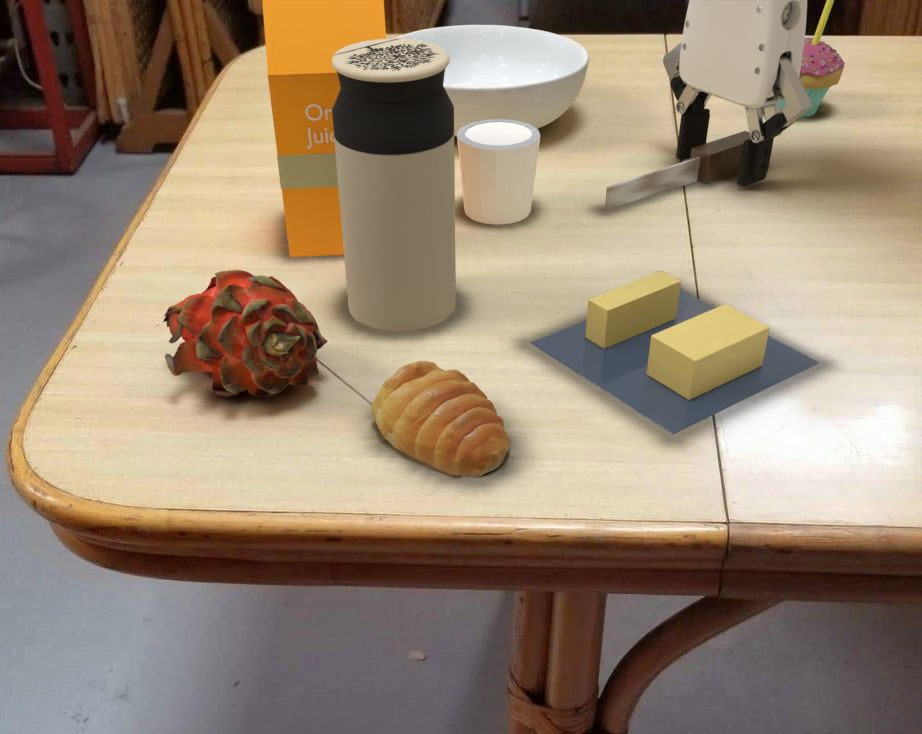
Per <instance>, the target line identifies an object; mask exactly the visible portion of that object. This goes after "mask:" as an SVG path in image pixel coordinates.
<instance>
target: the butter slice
mask: <svg viewBox="0 0 922 734" xmlns="http://www.w3.org/2000/svg"><path fill="white" fill-rule="evenodd" d="M681 285H682V280H680V279H678V278H677V277H675V276H672V275H671V274H669V273H667V272H664V271H662V270H659V271H657V272H654V273H652V274H648V275H647V276H643V277H641V278H639V279H636V280H633V281H631V282H629V283H626V284H624V285H621V286H619V287H615V288H613V289H611V290H609V291H605V292H603V293H601V294H598V295H596V296H593V297H590V298H588V299H587V311H586V320H587V322H586V335H585V337H586V338H587V339H589V340H590V341H592V342H594V343H595V344H597V345H598V346H600V347H602V348H603V349H605V348H608V347H610V346H613V345H615V344H617V343H620V342H622V341H624V340H627V339H629V338H631V337H634V336H636V335H638V334H641V333H643V332H646V331H648V330H650V329H653V328H655V327H657V326H660V325H662V324H664V323H667V322H669V321H672V320H674V319H676V314H677V307H678V300H679V293H680V289H681Z"/></svg>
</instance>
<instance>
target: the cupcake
mask: <svg viewBox="0 0 922 734" xmlns="http://www.w3.org/2000/svg"><path fill="white" fill-rule="evenodd" d="M834 2H835V0H826V1H825V4H824V7H823V10H822V13H821V16H820V18H819V21H818V24H817V26H816V30H815V32H814V36H812V37H811V36H808V37H805V39H804V48H803V55H802V63H801V69H800V75H799V79H800V81H801V83H802V85H803V87H804V89H805V91H806V93H807V94H808V96H809V98H810V100H811V107H810V108H809V109H808V110H807V111H806V112H805V113H804V114H803V115H801V116H800V117H799V118H798V119H800V118H809V117H812V116H814V115H815V114H816V113H817V111H818V109H819V107H820V105H821V103H822V101H823V100H824V97H825V96H826V94H827V93H828V91H829V89H830V88H831V87H833V86H836V85H838V84H839V82H840V81H841V78H842V75H843V72H844V68H845V64H846V62H845V61H844V59H842V56H840V53H838V50H837V49H835V48H833V47H832V46H831V45H830V44H827V43H826V41H825V40H821V39H822V36H823V33H824V31H825V27H826V25H827V21H828V18H829V16H830V13H831V10H832V8H833V5H834ZM778 104H779V110H780V111H781V109H782V108H783V107H784V106H785V99H778Z"/></svg>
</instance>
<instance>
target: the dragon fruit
mask: <svg viewBox="0 0 922 734" xmlns="http://www.w3.org/2000/svg"><path fill="white" fill-rule="evenodd" d="M214 275H215V276H213V277H211V279H210V282H209V284H208V285H207V287H206V289H205V290H204V291H203V292H201V293H195V294H191V295H188V296H187V297H185V298H184V299H183V300H181V301H179V302H177V303H175V304H172V305H171V306H169V307H168V308H167V310H166V312H165V314H164V315H163V316H162V317H161V319H162V318H163V317H164V319H163V321H162V323H165V324H166V328H168V330H169V333H170V335H171V338H169V340H168V343H170V344H174V343H176V342H177V341H179V340H180V338H182V340H183V342H181V343H179V345H178V347H177V348H176V351H175V352H174V355H173V356H172V355H171V354H170V353H166V354H164V359H165V362H166V366H167V368H168V369H169V371H170V372H171V374H172V375H173V376H176V377H178V376H180V375H182V374H183V373H195V374H198V373H208V372H210V373H212V375H211V381H212V382H211V391H212V393H214V394H215V395H216V396H220V397H225V398H226V397H227V398H229V397H232V396H238V395H239V394H240V393H241V392H244V391H247V392H248V393H249V394H250V395H251V396H252V397H256V398H263V397H266V398H268V397H272V396H275V395H276V394H278V393H281V392H283V390H284V389H285V388H286V387H287V386H288V385H293V386H307V385H308V383H310V382H311V381H313V380H314V379H315V378H316V377H317V376H319V375H320V371H319V367H318V361H317V353H318V351H319V350H320V349H321V348H323V347H324V345H326V344H327V343H328V340H327V339H326V338H325V337H324V336H323V335H322V334H321V332H320V331H321V330H320V328H319V326H318V323H317V321H316V318H315V316H314V315H313V314H312V312H311V311H310V310H308V308H307V307H306V306H305V305H304V304H303V303H302V302H300V301H299V300H298V299H297V297H296V296H295V294H294V293H293V292H292V291H291V290H290V289H289V288H287V286H286V285H284V284H283V283H282V282H281V281H280V280H278V279H277V278H276V277H274V276H272V275H270V276H266V275H263V274H261V275H254V274H253V273H251V272H249V271H247V270H241V269H230V270H229V269H228V270H222V271H218V272H215V273H214ZM158 326H159V324H156V327H158Z"/></svg>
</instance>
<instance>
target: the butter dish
mask: <svg viewBox="0 0 922 734" xmlns="http://www.w3.org/2000/svg"><path fill="white" fill-rule="evenodd" d="M715 308H716V307H715V306H713V305H711V304H709V303H707V302H705V301H703V300H702V299H700V298H698V297H697V296H694V295H692V294H691V293H689V292H687V291H685V290H682V289H681V288H680V293H679V300H678V307H677V314H676V319H674V320H672V321H669V322H667V323H664V324H662V325H660V326H657V327H655V328H653V329H650V330H648V331H646V332H643V333H641V334H638V335H636V336H634V337H631V338H629V339H627V340H624V341H622V342H620V343H617V344H615V345H613V346H610V347H608V348H605V349H603V348H602V347H600V346H598V345H597V344H595V343H594V342H592V341H590V340H589V339H587V338H586V337H585V335H586V322H587V319H585V320H582V321H580V322H576V323H574V324H572V325H569V326H567V327H565V328H562V329H559V330H557V331H554V332H552V333H549V334H547V335H545V336H542V337H539V338H537V339H534V340H532V341H530V342H529V344H531V345H532V346H534V347H536V348H537V349H539V350H540V351H542V352H544V353H545V354H546V355H548V356H550V357H551V358H553V359H554V360H556V361H557V362H559V363H560V364H562V365H564V366H565V367H567V368H568V369H569V370H571V371H572V372H575V373H576V374H577V375H579V376H581V377H582V378H584V379H585V380H587V381H588V382H590V383H591V384H593V385H594V386H596V387H597V388H599V389H601V390H602V391H604V392H605V393H607V394H609V395H610V396H611V397H613V398H615V399H617V400H618V401H619V402H621V403H623V404H624V405H625V406H627V407H629V408H630V409H631V410H633V411H635V412H637V413H638V414H639V415H641V416H643V417H644V418H646V419H647V420H649V421H650V422H652V423H654V424H655V425H657V426H658V427H659V428H661V429H663V430H664V431H666V432H667V433H669V434H671V435H672V436H673V435H675V434H677V433H679V432H681V431H683V430H685V429H687V428H689V427H691V426H693V425H696V424H698V423H700V422H702V421H704V420H706V419H708V418H710V417H712V416H714V415H716V414H718V413H720V412H722V411H724V410H726V409H728V408H730V407H732V406H735V405H736V404H739V403H741V402H743V401H744V400H747V399H749V398H750V397H751V398H752V397H753V396H755V395H757V394H759V393H761V392H763V391H765V390H767V389H770V388H771V387H773V386H775V385H777V384H779V383H782V382H783V381H786V380H787V379H790V378H792V377H794V376H796V375H798V374H800V373H802V372H803V371H806V370H808V369H811V368H812V367H814V366H816V365H818V364H820V362H819V361H817V360H816V359H814V358H812V357H810V356H808V355H807V354H804V353H802V352H800V351H799V350H797V349H795V348H794V347H791V346H789V345H788V344H785V343H783V342H782V341H780V340H778V339H776V338H774V337H773V336H770V335H768V339H767V344H766V349H765V354H764V358H763V363H762V366H761V367H759V368H756V369H754V370H752V371H750V372H748V373H746V374H744V375H742V376H740V377H737V378H735V379H733V380H731V381H729V382H727V383H725V384H723V385H721V386H719V387H716V388H714V389H712V390H710V391H708V392H706V393H704V394H702V395H700V396H697V397H695V398H693V399H691V400H688V399H686V398H684V397H683V396H681V395H680V394H678V393H676V392H675V391H673V390H671V389H670V388H668V387H666V386H665V385H663V384H662V383H660V382H658V381H657V380H655V379H653V378H652V377H650V376H648V375H647V366H648V358H649V350H650V342H651V336H652V335H654V334H656V333H658V332H661V331H663V330H665V329H668V328H670V327H672V326H675V325H677V324H679V323H682V322H684V321H686V320H689V319H691V318H693V317H696V316H698V315H700V314H703V313H705V312H708V311H710V310H712V309H715Z"/></svg>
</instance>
